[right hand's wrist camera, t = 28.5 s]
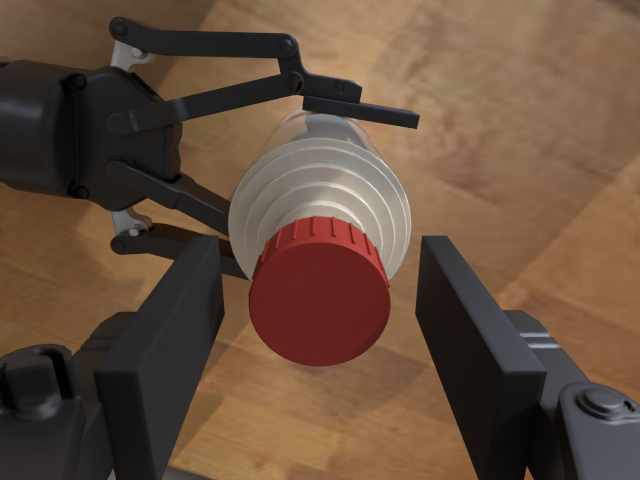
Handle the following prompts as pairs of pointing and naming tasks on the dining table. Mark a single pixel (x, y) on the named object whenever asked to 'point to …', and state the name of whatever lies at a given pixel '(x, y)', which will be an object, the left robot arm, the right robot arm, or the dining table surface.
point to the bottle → (319, 188)
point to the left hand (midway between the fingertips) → (398, 185)
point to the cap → (319, 292)
